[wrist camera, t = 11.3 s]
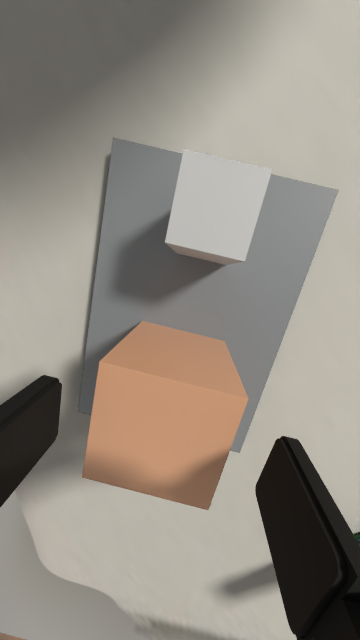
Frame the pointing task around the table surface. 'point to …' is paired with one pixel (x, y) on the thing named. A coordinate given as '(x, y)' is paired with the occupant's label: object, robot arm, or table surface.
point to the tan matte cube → (164, 414)
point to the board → (198, 283)
